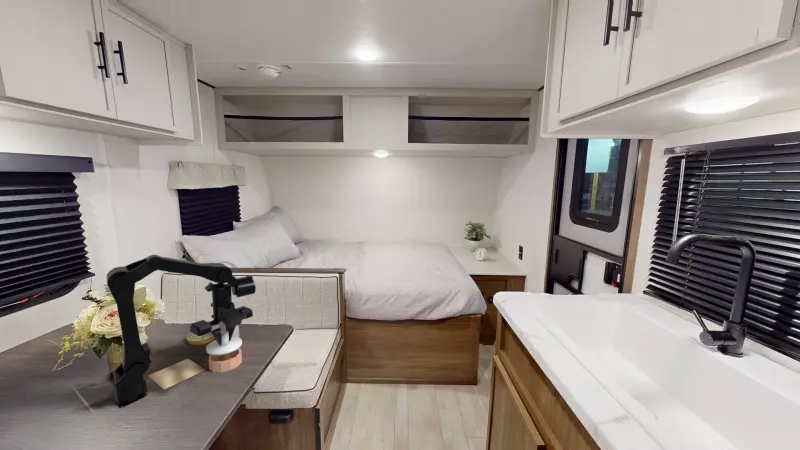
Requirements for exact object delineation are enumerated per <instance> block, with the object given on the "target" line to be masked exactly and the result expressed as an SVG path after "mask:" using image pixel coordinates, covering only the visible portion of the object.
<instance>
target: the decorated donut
mask: <svg viewBox="0 0 800 450" xmlns="http://www.w3.org/2000/svg"><path fill="white" fill-rule="evenodd" d="M185 340H186V341H187V343H188V344H189V345H191V346H203V345H208V344H209V343H211V342H212V341H214V340H216V339H215V338H214V336H213V335H212V333H211V332H210V333H208V334H205V335H202V336H197V335H195V334H193V333H192V332H190V333H189V334H188V335H187V336H186V339H185Z"/></svg>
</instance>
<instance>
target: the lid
mask: <svg viewBox="0 0 800 450" xmlns="http://www.w3.org/2000/svg"><path fill="white" fill-rule="evenodd" d="M242 345H243V340H242V338H241V337H240V336H239V337H232V338H231V341H229V333H228V331H222V332H221V345H219V344H218V343H217V341H216V339H215V340H214V341H212V342H210V343H207V344H206V347H205V351H206V353H207V354H208V355H209V356H210V355H224V354H228V353H231V352H233V351H235V350H237V349H239V348H240V349H241V347H242Z"/></svg>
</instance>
